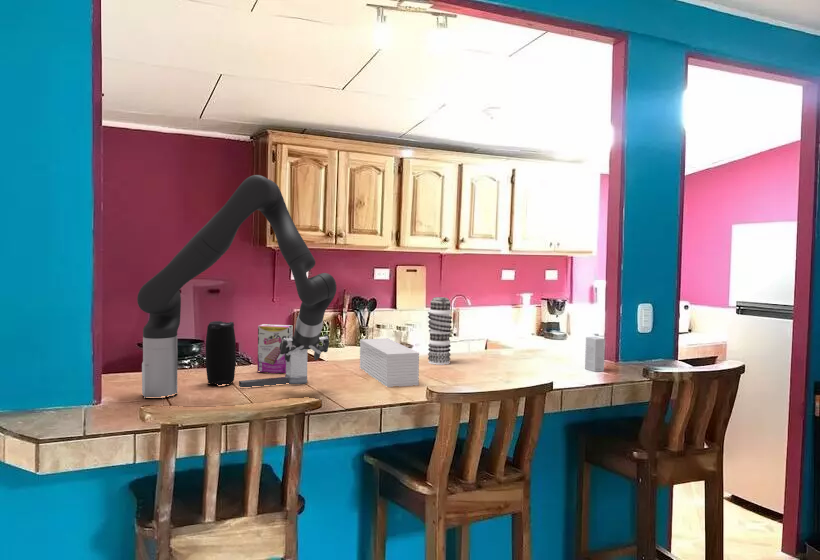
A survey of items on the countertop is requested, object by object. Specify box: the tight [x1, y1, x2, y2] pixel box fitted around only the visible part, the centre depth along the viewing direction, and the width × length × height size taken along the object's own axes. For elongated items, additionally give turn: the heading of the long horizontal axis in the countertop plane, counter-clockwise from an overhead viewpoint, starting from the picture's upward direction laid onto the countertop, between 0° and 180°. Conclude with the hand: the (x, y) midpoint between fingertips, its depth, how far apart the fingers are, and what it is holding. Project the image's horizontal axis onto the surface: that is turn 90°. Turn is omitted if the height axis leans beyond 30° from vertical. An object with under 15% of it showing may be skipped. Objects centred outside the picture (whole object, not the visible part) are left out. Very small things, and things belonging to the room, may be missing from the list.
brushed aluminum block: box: [285, 343, 308, 378], centre depth 203 cm, size 5×5×11 cm
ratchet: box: [238, 374, 308, 387], centre depth 200 cm, size 22×7×6 cm, turn 120°
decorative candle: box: [427, 296, 453, 366], centre depth 243 cm, size 9×9×25 cm
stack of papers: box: [359, 337, 420, 388], centre depth 217 cm, size 32×11×11 cm, turn 20°
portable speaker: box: [205, 320, 237, 386], centre depth 199 cm, size 9×9×20 cm
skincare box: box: [584, 336, 606, 373], centre depth 234 cm, size 6×4×12 cm
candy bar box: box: [257, 323, 294, 375], centre depth 219 cm, size 11×5×16 cm, turn 84°
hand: (301, 358), depth 195 cm, fingers open, 8 cm apart
